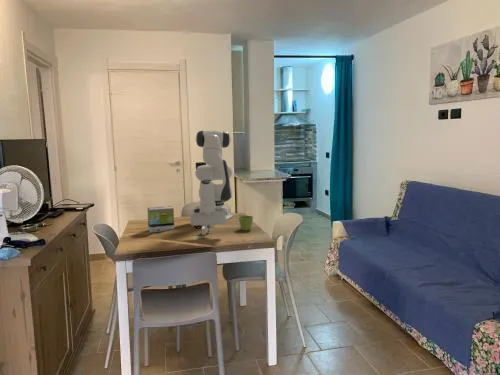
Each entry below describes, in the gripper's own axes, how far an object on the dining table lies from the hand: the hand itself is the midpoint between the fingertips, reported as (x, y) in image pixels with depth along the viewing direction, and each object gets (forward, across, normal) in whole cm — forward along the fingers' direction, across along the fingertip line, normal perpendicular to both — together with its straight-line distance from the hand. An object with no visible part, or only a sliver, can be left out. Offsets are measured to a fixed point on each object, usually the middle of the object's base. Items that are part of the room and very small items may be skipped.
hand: (208, 232), depth 229 cm
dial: (+4, +3, -9) cm, 10 cm away
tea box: (+4, +32, -26) cm, 42 cm away
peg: (+3, +3, -4) cm, 5 cm away
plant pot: (+4, -22, -18) cm, 28 cm away
